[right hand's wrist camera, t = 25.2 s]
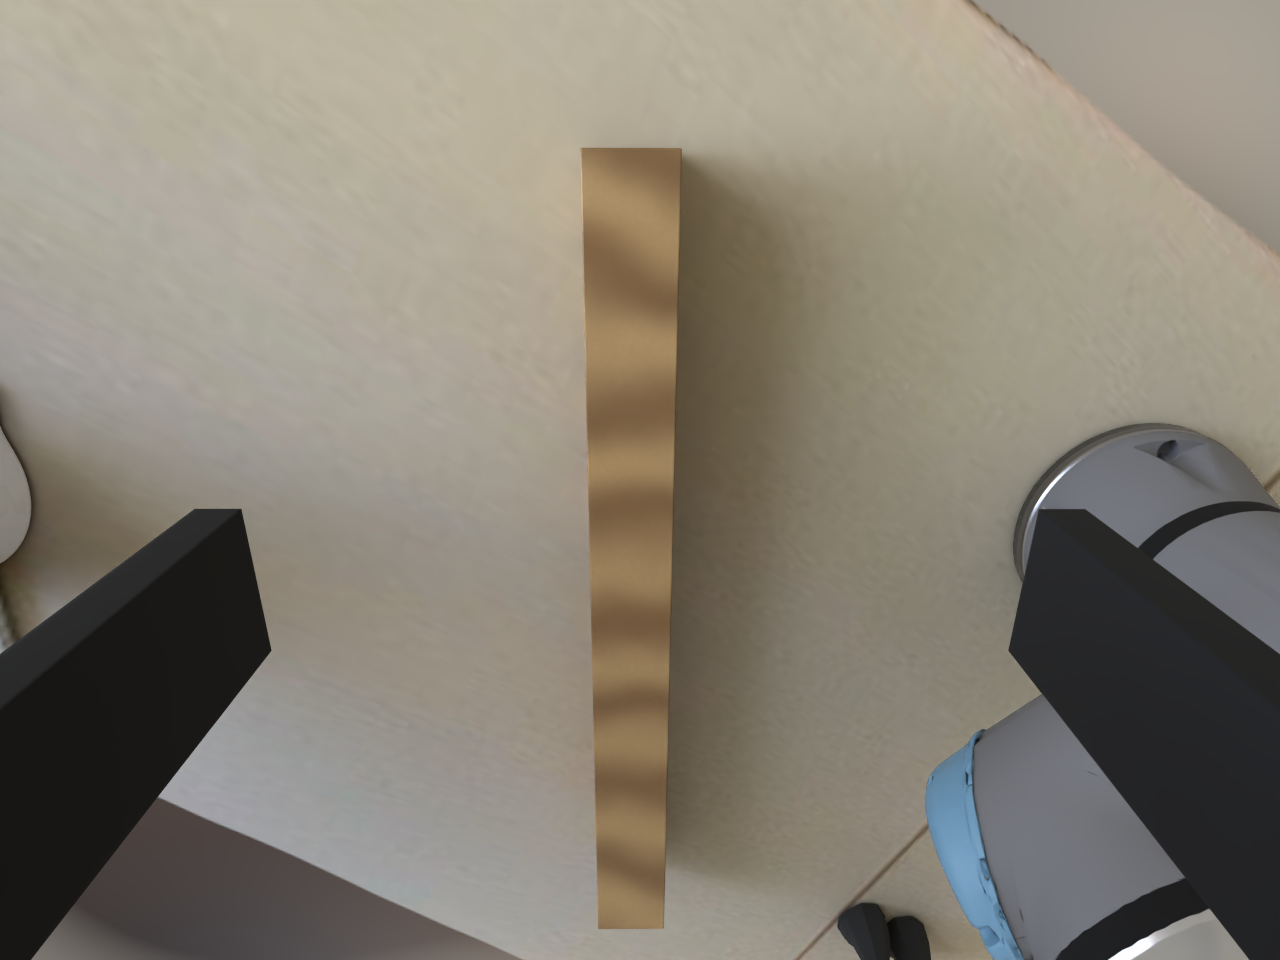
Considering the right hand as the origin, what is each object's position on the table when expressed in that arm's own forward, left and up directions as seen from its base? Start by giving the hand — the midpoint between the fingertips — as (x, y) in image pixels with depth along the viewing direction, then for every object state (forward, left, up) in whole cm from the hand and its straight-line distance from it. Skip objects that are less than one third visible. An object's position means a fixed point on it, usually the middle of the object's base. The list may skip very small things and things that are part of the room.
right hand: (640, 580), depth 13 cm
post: (-13, +15, -36) cm, 41 cm away
